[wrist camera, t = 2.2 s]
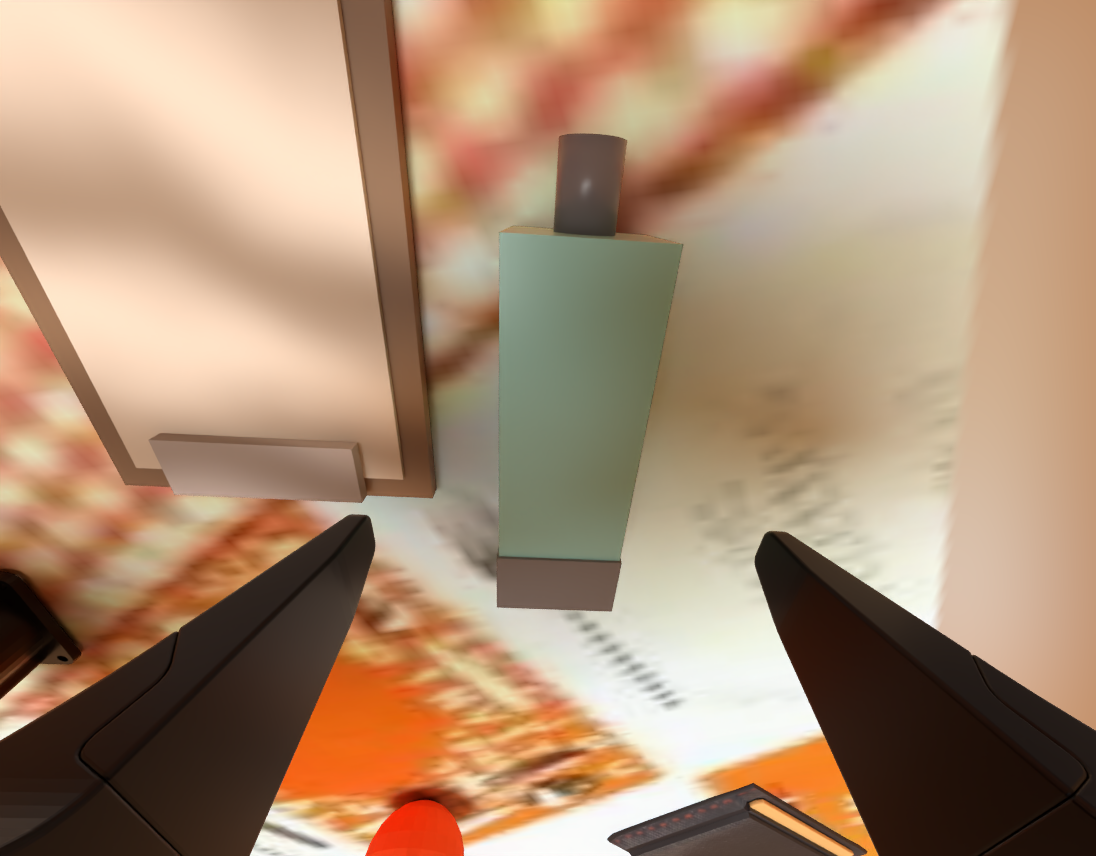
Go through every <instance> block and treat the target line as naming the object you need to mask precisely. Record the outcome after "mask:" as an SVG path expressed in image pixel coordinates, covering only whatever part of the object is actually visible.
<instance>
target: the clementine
mask: <svg viewBox="0 0 1096 856" xmlns="http://www.w3.org/2000/svg"><path fill="white" fill-rule="evenodd" d="M365 856H464V847H463V841H462V835H461V832H460V830H459V827H458V825H457V823H456V820H455V818H454V817H453V815H452V814H451V813H450V812H449V811H448V810H447V808H445V807H444V806H443V805H441V804H439V803H437V802H434V801H431V800H418V801H413V802H409V803H407V804H405V805H404V806H402V807H401V808H399V809H398V810H396V811H395V812H393V813H392V814H391V815H390V816H389V817H388V818H387V819H386V820H385V821H384V823H383V824H382V825H381V826H380V828H379V830H378V831H377V833H376V835H375V836H374V838H373V839H372V841H371V843H370V845H369V848H368V850H367V853H366V855H365Z"/></svg>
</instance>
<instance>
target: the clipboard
mask: <svg viewBox="0 0 1096 856" xmlns="http://www.w3.org/2000/svg"><path fill="white" fill-rule="evenodd" d="M0 256H1V258H2V260H3V262H4V264H5V265H6V267H7V269H8V271H9V273H10V275H11V276H12V278H13V280H14V282H15V284H16V286H17V287H18V289H19V291H20V293H21V295H22V297H23V298H24V300H25V302H26V304H27V306H28V307H29V309H30V311H31V313H32V315H33V317H34V318H35V320H36V322H37V324H38V326H39V328H40V329H41V331H42V333H43V335H44V337H45V339H46V340H47V342H48V344H49V346H50V348H51V350H52V351H53V353H54V355H55V357H56V359H57V360H58V362H59V364H60V366H61V368H62V370H63V371H64V373H65V375H66V377H67V379H68V381H69V382H70V384H71V386H72V388H73V390H74V392H75V393H76V395H77V397H78V399H79V401H80V403H81V404H82V406H83V408H84V410H85V412H86V413H87V415H88V417H89V419H90V421H91V423H92V424H93V426H94V428H95V430H96V432H97V434H98V435H99V437H100V439H101V441H102V443H103V445H104V446H105V448H106V450H107V452H108V454H109V456H110V457H111V459H112V461H113V463H114V465H115V466H116V468H117V470H118V472H119V474H120V476H121V477H122V479H123V481H124V483H125V485H138V486H161V487H171V488H172V490H173V493H174V495H192V496H216V497H240V498H263V499H287V500H311V501H334V502H358V503H362V502H363V501H364V499H365V497H366V496H367V495H372V496H395V497H419V498H433V496H434V493H435V491H436V481H435V471H434V460H433V449H432V438H431V427H430V416H429V405H428V394H427V383H426V373H425V362H424V351H423V340H422V329H421V318H420V307H419V296H418V286H417V275H416V264H415V253H414V242H413V231H412V220H411V209H410V199H409V188H408V177H407V166H406V155H405V144H404V133H403V122H402V112H401V101H400V90H399V79H398V68H397V57H396V46H395V35H394V25H393V14H392V3H391V0H0Z"/></svg>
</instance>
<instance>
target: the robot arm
mask: <svg viewBox="0 0 1096 856" xmlns="http://www.w3.org/2000/svg"><path fill="white" fill-rule="evenodd" d="M374 552H375V538H374V533H373V528H372V523H371V519H370V517H369V516H367V515H353V514H352V515H348V516H346V517H345V518H343V519H342V520H340V521H339V522H337V523H336V524H334V525H333V526H331V527H330V528H328V529H327V530H325V531H324V532H323V533H321V534H320V535H318V536H317V537H315V538H314V539H312V540H311V541H309V542H308V543H306V544H305V545H303V546H302V547H300V548H299V549H297V550H296V551H294V552H293V553H291V554H290V555H288V556H287V557H285V558H284V559H282V560H281V561H279V562H278V563H276V564H275V565H273V566H272V567H270V568H269V569H267V570H266V571H264V572H263V573H261V574H260V575H258V576H257V577H256V578H254V579H253V580H251V581H250V582H248V583H247V584H245V585H244V586H242V587H241V588H239V589H238V590H236V591H235V592H233V593H232V594H230V595H229V596H227V597H226V598H224V599H223V600H221V601H220V602H218V603H217V604H215V605H214V606H212V607H211V608H209V609H208V610H206V611H205V612H203V613H202V614H200V615H199V616H197V617H196V618H194V619H193V620H191V621H190V622H189V623H187V624H186V625H184V626H183V627H181V628H180V629H179V632H173V633H172V634H170V635H169V636H167V637H166V638H164V639H163V640H161V641H160V642H159V643H157V644H156V645H154V646H153V647H151V648H150V649H148V650H146V651H145V652H143V653H142V654H140V655H139V656H137V657H136V658H134V659H133V660H131V661H130V662H128V663H126V664H125V665H123V666H122V667H120V668H119V669H117V670H116V671H114V672H113V673H111V674H109V675H108V676H106V677H105V678H103V679H101V680H100V681H98V682H96V683H95V684H93V685H92V686H90V687H88V688H87V689H85V690H83V691H82V692H80V693H79V694H77V695H75V696H74V697H72V698H70V699H69V700H67V701H66V702H64V703H62V704H61V705H59V706H57V707H56V708H54V709H52V710H51V711H49V712H47V713H46V714H44V715H42V716H41V717H39V718H37V719H36V720H34V721H32V722H31V723H29V724H27V725H26V726H24V727H22V728H21V729H19V730H17V731H16V732H14V733H12V734H11V735H9V736H7V737H6V738H4V739H2V740H1V741H0V856H250V854H251V851H252V849H253V847H254V845H255V842H256V840H257V838H258V835H259V833H260V831H261V829H262V826H263V824H264V822H265V819H266V817H267V815H268V813H269V810H270V808H271V806H272V803H273V801H274V799H275V797H276V794H277V792H278V790H279V788H280V785H281V783H282V781H283V778H284V776H285V774H286V772H287V769H288V767H289V765H290V762H291V760H292V758H293V756H294V753H295V751H296V749H297V747H298V744H299V742H300V740H301V737H302V735H303V733H304V731H305V728H306V726H307V724H308V721H309V719H310V717H311V715H312V712H313V710H314V708H315V706H316V703H317V701H318V699H319V696H320V694H321V692H322V690H323V687H324V685H325V683H326V680H327V678H328V676H329V674H330V671H331V669H332V667H333V665H334V662H335V660H336V658H337V655H338V653H339V651H340V649H341V646H342V644H343V642H344V639H345V637H346V635H347V633H348V630H349V628H350V625H351V623H352V621H353V618H354V615H355V612H356V609H357V606H358V603H359V600H360V597H361V594H362V591H363V587H364V584H365V581H366V578H367V575H368V571H369V568H370V565H371V562H372V559H373V556H374ZM755 567H756V571H757V574H758V577H759V580H760V583H761V585H762V588H763V591H764V594H765V597H766V600H767V603H768V606H769V609H770V612H771V615H772V618H773V621H774V624H775V626H776V629H777V632H778V634H779V636H780V639H781V641H782V643H783V645H784V648H785V650H786V652H787V654H788V657H789V659H790V661H791V663H792V665H793V668H794V670H795V672H796V674H797V676H798V679H799V681H800V683H801V685H802V687H803V690H804V692H805V694H806V696H807V699H808V701H809V703H810V705H811V707H812V710H813V712H814V714H815V716H816V718H817V721H818V723H819V725H820V727H821V729H822V732H823V734H824V736H825V738H826V741H827V743H828V745H829V747H830V749H831V752H832V754H833V756H834V758H835V760H836V763H837V765H838V767H839V769H840V771H841V774H842V776H843V778H844V780H845V782H846V785H847V787H848V789H849V791H850V794H851V796H852V798H853V800H854V802H855V805H856V807H857V809H858V811H859V813H860V816H861V818H862V820H863V822H864V824H865V827H866V829H867V831H868V833H869V836H870V838H871V840H872V842H873V844H874V847H875V849H876V851H877V853H878V855H879V856H1096V730H1094V729H1092V728H1091V727H1089V726H1087V725H1085V724H1084V723H1082V722H1081V721H1079V720H1077V719H1075V718H1074V717H1072V716H1071V715H1069V714H1067V713H1066V712H1064V711H1062V710H1061V709H1059V708H1058V707H1056V706H1054V705H1053V704H1051V703H1049V702H1048V701H1046V700H1044V699H1043V698H1041V697H1039V696H1038V695H1036V694H1035V693H1033V692H1032V691H1030V690H1028V689H1027V688H1025V687H1024V686H1022V685H1021V684H1019V683H1017V682H1016V681H1014V680H1013V679H1011V678H1010V677H1008V676H1007V675H1005V674H1003V673H1002V672H1000V671H999V670H997V669H995V668H994V667H993V666H991V665H989V664H988V663H987V662H985V661H983V660H982V659H980V658H979V657H977V656H976V655H971V653H970V652H969V651H968V650H966V649H965V648H963V647H962V646H960V645H959V644H957V643H956V642H954V641H953V640H951V639H950V638H948V637H947V636H945V635H943V634H942V633H940V632H939V631H937V630H936V629H934V628H933V627H931V626H930V625H928V624H927V623H925V622H924V621H922V620H920V619H919V618H917V617H916V616H914V615H913V614H911V613H910V612H908V611H907V610H905V609H904V608H902V607H901V606H899V605H897V604H896V603H894V602H893V601H891V600H890V599H888V598H887V597H885V596H884V595H882V594H881V593H879V592H878V591H876V590H874V589H873V588H871V587H870V586H868V585H867V584H865V583H864V582H862V581H861V580H859V579H858V578H856V577H855V576H853V575H851V574H850V573H848V572H847V571H845V570H844V569H842V568H841V567H839V566H838V565H836V564H835V563H833V562H832V561H830V560H828V559H827V558H825V557H824V556H822V555H821V554H819V553H818V552H816V551H815V550H813V549H812V548H810V547H809V546H807V545H805V544H804V543H802V542H801V541H799V540H798V539H796V538H795V537H793V536H792V535H790V534H788V533H786V532H779V531H769V532H767V533H765V535H764V536H763V539H762V541H761V544H760V546H759V548H758V551H757V553H756V556H755ZM80 656H81V652H80V651H79V650H78V648H77V647H76V646H75V645H74V643H73V642H72V641H71V640H70V638H69V637H68V636H67V635H66V634H65V632H64V631H63V630H62V629H61V627H60V626H59V625H58V624H57V622H56V621H55V620H54V619H53V618H52V616H51V615H50V614H49V613H48V611H47V610H46V609H45V608H44V606H43V605H42V604H41V603H40V602H39V600H38V599H37V598H36V597H35V595H34V594H33V593H32V592H31V590H30V589H29V588H28V587H27V586H26V584H25V583H24V582H23V581H22V580H21V579H20V578H19V577H18V576H16V575H14V574H11V573H7V572H0V699H1V698H3V697H4V696H5V695H6V694H7V693H8V692H9V691H10V690H11V689H13V688H14V687H15V686H16V685H17V684H18V683H19V682H20V681H21V680H23V679H24V678H25V677H26V676H27V675H28V674H29V673H30V672H31V671H33V670H34V669H35V668H36V667H37V666H38V665H39V664H72V663H73V662H74V661H75V660H76V659H77V658H79V657H80Z"/></svg>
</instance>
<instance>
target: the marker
mask: <svg viewBox="0 0 1096 856" xmlns="http://www.w3.org/2000/svg"><path fill="white" fill-rule="evenodd" d="M626 145H627V140H625V139H623V138H619V137H615V136H609V135H600V134H567V135H562V136H560V137H559V149H558V165H557V182H556V199H555V216H554V229H553V228H538V227H523V226H511V227H509V228H507V229H505V230H503V231H501V232H499V547H498V554H497V607H502V608H530V609H558V610H586V611H612V607H613V602H614V597H615V593H616V588H617V583H618V578H619V573H620V568H621V559H620V556H621V551H622V546H623V541H624V536H625V531H626V526H627V521H628V516H629V511H630V506H631V501H632V496H633V491H634V487H635V482H636V477H637V472H638V467H639V462H640V457H641V452H642V447H643V442H644V437H645V432H646V427H647V422H648V417H649V412H650V407H651V402H652V397H653V392H654V387H655V382H656V377H657V372H658V367H659V362H660V357H661V352H662V347H663V342H664V337H665V333H666V328H667V323H668V318H669V313H670V308H671V303H672V298H673V293H674V288H675V283H676V278H677V273H678V268H679V263H680V258H681V253H682V248H683V244H680V243H676V242H672V241H668V240H664V239H660V238H656V237H652V236H648V235H643V234H628V233H616V225H617V217H618V209H619V201H620V193H621V185H622V177H623V169H624V161H625V153H626Z"/></svg>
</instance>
